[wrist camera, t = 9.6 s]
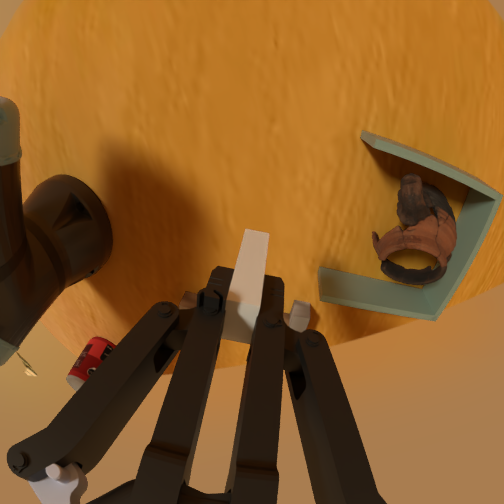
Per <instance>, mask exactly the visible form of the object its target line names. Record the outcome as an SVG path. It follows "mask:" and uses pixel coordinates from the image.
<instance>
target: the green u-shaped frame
mask: <svg viewBox="0 0 504 504" xmlns="http://www.w3.org/2000/svg"><path fill="white" fill-rule="evenodd" d="M360 138H361V139H363V140H364V141H365V142H367V143H368V144H369V145H371V146H372V147H373V148H376V149H379V150H382V151H385V152H388V153H390V154H393V155H396V156H399V157H401V158H404V159H407V160H409V161H412V162H415V163H417V164H420V165H422V166H425V167H427V168H430V169H432V170H434V171H437V172H439V173H441V174H444V175H446V176H448V177H450V178H453V179H455V180H457V181H459V182H461V183H463V184H465V185H467V186H469V187H470V190H469V193H468V195H467V198H466V200H465V203H464V205H463V208H462V210H461V213H460V215H459V217H458V219H457V222H456V233H457V240H456V246H455V248H454V250H453V251H452V252H451V253H452V257H451V258H450V261H449V262H448V263H447V270H446V273H445V274H444V276H443V277H442V278H441V279H439V280H438V281H436V282H433V283H429V284H425V285H424V287H423V288H422V289H419V288H415V287H410V286H406V285H401V284H396V283H392V282H387V281H383V280H378V279H374V278H369V277H365V276H360V275H355V274H351V273H346V272H342V271H337V270H333V269H328V268H324V267H320V268H319V270H318V282H319V296H320V301H323V302H328V303H333V304H339V305H344V306H349V307H355V308H360V309H365V310H371V311H376V312H382V313H388V314H394V315H399V316H405V317H411V318H417V319H424V320H430V321H436V320H437V318H438V317H439V316H440V314H441V313H442V311H443V310H444V308H445V307H446V305H447V304H448V302H449V301H450V299H451V298H452V296H453V294H454V293H455V291H456V290H457V288H458V286H459V285H460V283H461V281H462V280H463V278H464V276H465V275H466V273H467V271H468V269H469V267H470V266H471V264H472V262H473V260H474V258H475V256H476V254H477V253H478V251H479V249H480V247H481V245H482V243H483V241H484V239H485V236H486V234H487V232H488V230H489V228H490V226H491V224H492V221H493V219H494V217H495V214H496V212H497V210H498V207H499V205H500V202H501V200H502V197H503V195H502V194H500V193H499V192H497V191H496V190H495V189H493V188H492V187H490V186H489V185H487V184H486V183H485V182H483V181H482V180H480V179H478V178H477V177H475V176H473V175H471V174H469V173H467V172H465V171H463V170H461V169H459V168H457V167H455V166H453V165H450V164H448V163H446V162H444V161H442V160H440V159H437V158H435V157H433V156H430V155H428V154H426V153H423V152H421V151H419V150H416V149H414V148H411V147H409V146H406V145H403V144H401V143H398V142H395V141H393V140H390V139H387V138H384V137H381V136H379V135H376V134H373V133H370V132H367V131H363V130H362V133H361V137H360ZM439 265H440V263H439V261H437V263H436V265H435V267H434V269H436V268H437V267H438V266H439ZM434 269H433V270H434Z"/></svg>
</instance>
